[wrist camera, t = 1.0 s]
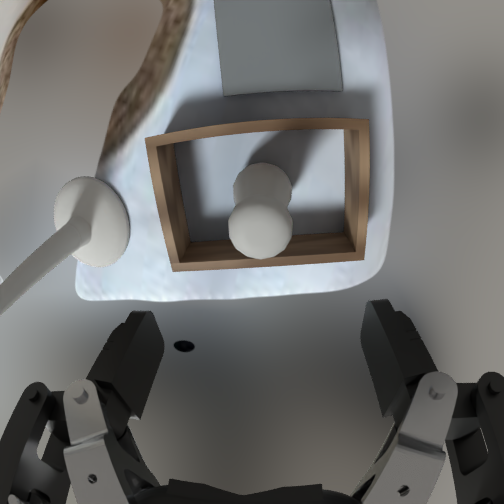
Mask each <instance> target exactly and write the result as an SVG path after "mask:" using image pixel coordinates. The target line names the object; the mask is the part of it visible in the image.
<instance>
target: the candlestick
mask: <svg viewBox="0 0 504 504" xmlns="http://www.w3.org/2000/svg"><path fill="white" fill-rule="evenodd" d="M54 221H55V226H56V230H57V232H56V233H55V234H54V235H52V236H51V237H50V238H49V239H48V240H47V241H45V242H44V243H43V244H42V245H41V246H40V247H39V248H38V249H36V250H35V251H34V252H33V253H32V254H31V255H30V256H29V257H28V258H27V259H26V260H25V261H24V262H23V263H22V264H21V265H19V267H17V268H16V270H14V271H13V272H12V274H11V275H9V276H8V278H7V279H6V280H5V281H4V282H3V283H2V284H1V285H0V316H1V315H2V314H3V313H4V312H5V311H6V310H7V309H8V308H9V307H11V306H12V305H13V304H14V303H15V302H16V301H17V300H18V299H19V298H20V297H21V296H22V295H23V294H24V293H25V292H27V291H28V290H29V289H30V288H31V287H32V286H33V285H35V284H36V283H37V282H38V281H39V280H40V279H42V277H44V276H45V275H46V274H47V273H49V272H50V271H51V270H52V269H54V268H55V267H56V266H57V265H58V264H60V263H61V262H62V261H63V260H65V259H66V258H67V257H68V256H70V255H72V256H74V257H75V258H76V259H77V260H79V261H80V262H82V263H84V264H86V265H89V266H93V267H106V266H109V265H111V264H113V263H115V262H116V261H117V260H119V258H120V257H121V256H122V255H123V254H124V252H125V250H126V248H127V245H128V242H129V236H130V227H129V220H128V216H127V213H126V210H125V208H124V205H123V203H122V202H121V200H120V198H119V197H118V195H117V194H116V193H115V192H114V191H113V190H112V188H110V187H109V186H108V185H107V184H106V183H104V182H102V181H101V180H99V179H96V178H93V177H78V178H75V179H73V180H71V181H69V182H68V183H67V184H65V185H64V186H63V187H62V189H61V190H60V192H59V193H58V195H57V198H56V201H55V207H54Z"/></svg>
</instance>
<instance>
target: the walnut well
mask: <svg viewBox="0 0 504 504" xmlns="http://www.w3.org/2000/svg"><path fill="white" fill-rule="evenodd" d="M302 129H344V151H345V210H344V232H339V233H321V234H304V235H292V237H291V239H290V241H289V243H288V245H287V246H286V248H285V250H283V251H282V252H280V253H279V254H277V255H276V256H274V257H270V258H265V259H256V258H251V257H247V256H245V255H244V254H243V253H241V252H240V251H238V250H237V249H236V248H235V246H234V245H233V243H232V241H231V239H229V240H215V241H201V242H191V241H190V236H189V231H188V226H187V220H186V215H185V210H184V204H183V199H182V193H181V187H180V182H179V175H178V169H177V163H176V157H175V150H174V143H177V142H182V141H188V140H195V139H201V138H208V137H215V136H223V135H232V134H241V133H252V132H264V131H279V130H302ZM145 143H146V149H147V155H148V161H149V167H150V173H151V178H152V183H153V189H154V194H155V199H156V204H157V208H158V213H159V218H160V222H161V226H162V231H163V235H164V239H165V243H166V247H167V251H168V255H169V259H170V263H171V267H172V271H173V272H180V271H200V270H219V269H237V268H254V267H271V266H287V265H302V264H317V263H331V262H345V261H358V260H364V256H365V246H366V235H367V222H368V206H369V180H370V138H369V119H352V118H293V119H273V120H259V121H248V122H238V123H229V124H221V125H213V126H206V127H200V128H194V129H188V130H182V131H177V132H171V133H166V134H161V135H157V136H152V137H147V138H145Z"/></svg>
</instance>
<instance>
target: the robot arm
mask: <svg viewBox="0 0 504 504" xmlns="http://www.w3.org/2000/svg"><path fill="white" fill-rule="evenodd" d="M360 339H361V346H362V350H363V352H364V356H365V359H366V362H367V365H368V368H369V372H370V375H371V378H372V381H373V384H374V388H375V392H376V395H377V399H378V402H379V406H380V409H381V413H382V417H387V416H392V415H393V418H394V421H395V422H394V424H393V426H392V428H391V430H390V432H389V434H388V436H387V438H386V440H385V442H384V444H383V445H382V447H381V449H380V451H379V453H378V455H377V457H376V458H375V460H374V462H373V463H372V465H371V467H370V468H369V470H368V471H367V472H366V474H365V475H364V476H363V478H362V479H361V480H360V482H359V484H358V485H357V486H356V488H355V489H354V491H353V492H352V494H351V495H350V496H348V495H346V494H343V493H340V492H336V491H331V490H323V489H322V484H315V485H305V486H292V487H281V488H277V489H273V490H268V491H264V492H259V493H254V494H249V495H238V494H235V493H231V492H228V491H224V490H221V489H218V488H215V487H212V486H209V485H206V484H201V483H193V482H187V481H180V480H175V479H169V484H168V485H163V486H161V485H160V484H159V482H158V480H157V479H156V477H155V476H154V475H153V473H152V472H151V471H150V470H149V468H148V467H147V465H146V464H145V462H144V460H143V457H142V455H141V453H140V451H139V449H138V446H137V444H136V442H135V440H134V437H133V435H132V432H131V430H130V428H129V426H128V424H127V423H128V420H129V418H133V419H138V420H140V419H141V416H142V413H143V410H144V407H145V404H146V401H147V398H148V396H149V393H150V390H151V387H152V384H153V381H154V379H155V376H156V373H157V370H158V368H159V365H160V362H161V359H162V357H163V353H164V340H163V337H162V335H161V332H160V330H159V327H158V325H157V322H156V320H155V317H154V315H153V313H152V312H151V311H132V312H131V313H130V314H129V316H128V318H127V319H126V321H125V323H121V324H120V325H119V326H118V327H117V328H116V329H115V330H113V332H112V333H111V335H110V336H109V338H108V340H107V343H105V345H104V347H103V350H102V351H101V352H100V354H99V356H98V357H97V359H96V361H95V363H94V365H93V366H92V368H91V370H90V372H89V374H88V376H87V378H86V379H81V380H76V381H74V382H73V383H71V384H70V385H69V386H68V387H67V389H66V390H65V391H54V392H50V390H49V389H48V388H47V387H46V386H45V385H44V384H43V383H41V382H35V383H32V384H30V385H29V386H28V387H27V388H26V389H25V390H24V392H23V394H22V396H21V398H20V400H19V401H18V403H17V405H16V407H15V409H14V411H13V414H12V416H11V418H10V420H9V422H8V424H7V426H6V428H5V431H4V433H3V435H2V438H1V440H0V504H66V500H67V496H68V492H69V488H70V484H71V485H72V488H73V491H74V494H75V497H76V500H77V503H78V504H426V503H427V501H428V499H429V497H430V495H431V493H432V491H433V489H434V486H435V484H436V482H437V480H438V477H439V474H440V472H441V470H442V467H443V465H444V461H445V457H446V453H445V452H444V451H442V448H443V444H444V441H445V443H446V447H447V451H448V455H449V459H450V464H451V468H452V473H453V479H454V484H455V490H456V497H457V504H504V377H503V376H502V375H500V374H499V373H496V372H487V373H485V374H483V375H482V376H481V378H480V379H479V381H478V382H477V383H456V382H455V381H454V380H453V378H452V377H450V376H449V375H448V374H446V373H443V372H438V370H437V368H436V366H435V364H434V362H433V360H432V358H431V356H430V354H429V352H428V350H427V348H426V346H425V345H424V343H423V341H422V340H421V337H420V335H419V334H418V331H416V328H415V326H414V324H413V323H412V321H411V319H410V318H409V317H407V316H406V315H405V314H404V313H403V312H402V311H394V309H393V307H392V305H391V303H390V302H389V300H388V299H382V300H373V301H368V302H367V304H366V308H365V314H364V319H363V323H362V328H361V336H360ZM45 428H46V429H47V430H49V431H50V432H51V435H50V438H49V441H48V443H47V446H46V448H45V451H44V454H43V457H42V459H41V460H40V459H39V458H38V456H37V447H38V444H39V441H40V439H41V436H42V434H43V431H44V429H45ZM480 428H481V429H482V432H483V435H482V432H481V429H480ZM483 436H484V438H483ZM484 439H485V442H486V445H487V449H488V452H487V449H486V445H485V442H484Z"/></svg>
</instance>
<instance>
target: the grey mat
mask: <svg viewBox="0 0 504 504" xmlns="http://www.w3.org/2000/svg"><path fill="white" fill-rule="evenodd" d="M214 9H215V19H216V29H217V39H218V49H219V59H220V68H221V78H222V87H223V96H224V97H226V96H234V95H242V94H253V93H265V92H282V91H343V90H342V79H341V70H340V61H339V53H338V46H337V39H336V33H335V27H334V21H333V16H332V10H331V5H330V0H214Z"/></svg>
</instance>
